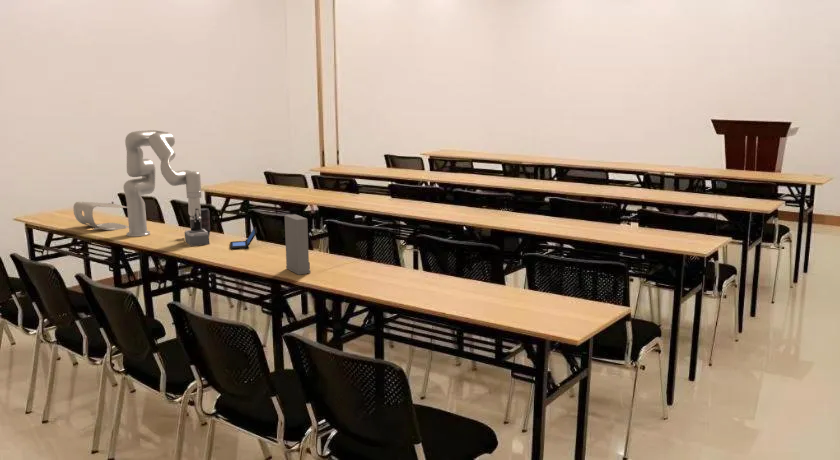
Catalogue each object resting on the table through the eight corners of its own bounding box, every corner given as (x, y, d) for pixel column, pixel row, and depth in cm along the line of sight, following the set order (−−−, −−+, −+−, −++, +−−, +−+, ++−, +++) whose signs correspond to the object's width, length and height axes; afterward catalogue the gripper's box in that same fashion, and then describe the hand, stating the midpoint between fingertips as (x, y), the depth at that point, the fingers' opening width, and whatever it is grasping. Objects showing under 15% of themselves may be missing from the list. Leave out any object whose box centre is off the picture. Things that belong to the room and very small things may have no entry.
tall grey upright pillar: (311, 273, 322) (309, 218, 317) (298, 275, 318) (296, 220, 313) (298, 267, 333) (296, 214, 328) (286, 268, 330) (284, 215, 325)
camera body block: (185, 241, 390) (184, 229, 389) (203, 239, 395) (203, 228, 393) (190, 246, 378) (189, 234, 377) (209, 244, 382) (208, 232, 381)
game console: (230, 244, 383) (229, 227, 381) (256, 242, 387) (255, 226, 385) (230, 250, 368) (229, 233, 367) (257, 248, 372) (256, 231, 370)
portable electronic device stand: (74, 227, 428) (71, 202, 425) (112, 222, 446) (110, 197, 443) (94, 233, 412) (92, 206, 409) (133, 227, 430) (131, 201, 427)
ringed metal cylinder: (189, 229, 386) (188, 216, 385) (200, 228, 389) (199, 215, 387) (191, 231, 381) (190, 218, 380) (203, 230, 384) (202, 217, 382)
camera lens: (213, 234, 409) (211, 208, 406) (207, 237, 401) (205, 210, 398) (199, 233, 409) (197, 207, 406) (193, 236, 401) (191, 210, 398)
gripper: (183, 193, 387) (186, 226, 390) (189, 197, 372) (192, 231, 375) (198, 192, 390) (200, 225, 394) (204, 196, 375) (206, 230, 379)
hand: (196, 228), depth 385 cm, fingers closed on ringed metal cylinder, 5 cm apart
